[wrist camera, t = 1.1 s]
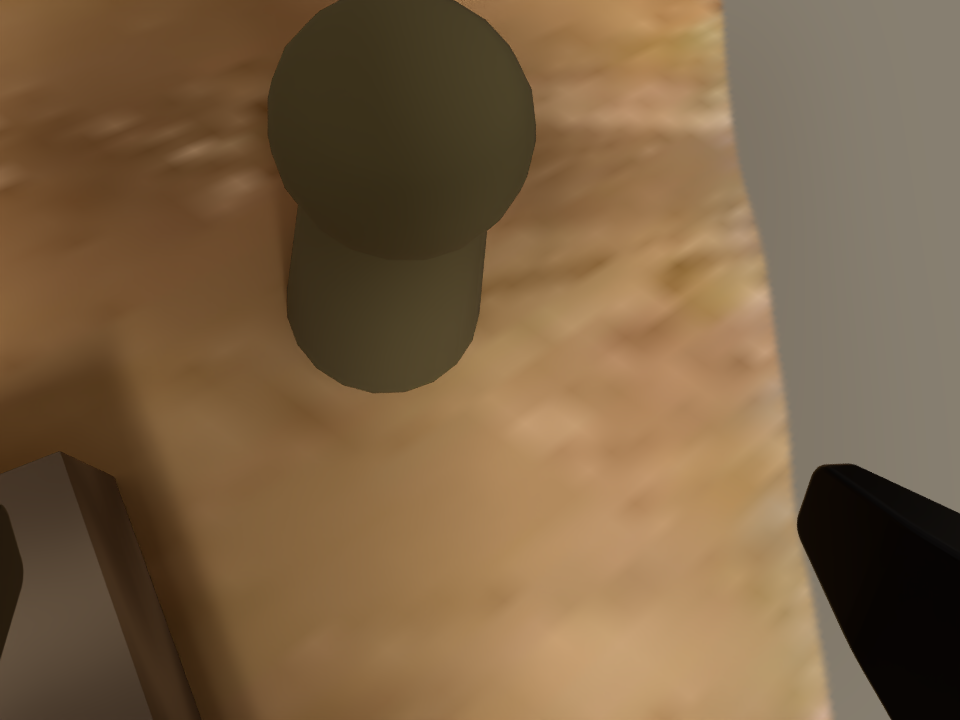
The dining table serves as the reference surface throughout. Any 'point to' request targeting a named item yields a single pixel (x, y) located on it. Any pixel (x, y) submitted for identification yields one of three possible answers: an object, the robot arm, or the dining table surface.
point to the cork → (395, 181)
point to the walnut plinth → (84, 605)
